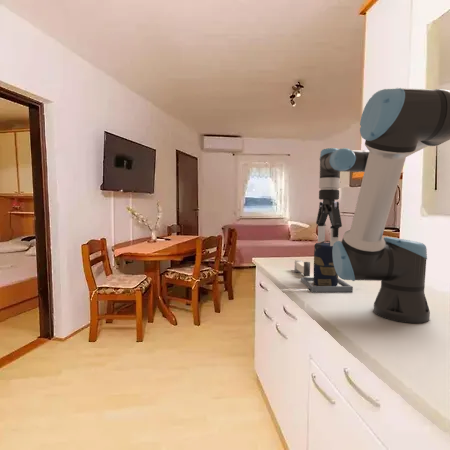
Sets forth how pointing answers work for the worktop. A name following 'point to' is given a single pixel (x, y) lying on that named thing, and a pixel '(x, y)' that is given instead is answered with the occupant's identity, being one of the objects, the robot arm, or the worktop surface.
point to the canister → (324, 265)
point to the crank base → (295, 272)
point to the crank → (302, 267)
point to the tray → (328, 287)
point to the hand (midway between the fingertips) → (327, 243)
